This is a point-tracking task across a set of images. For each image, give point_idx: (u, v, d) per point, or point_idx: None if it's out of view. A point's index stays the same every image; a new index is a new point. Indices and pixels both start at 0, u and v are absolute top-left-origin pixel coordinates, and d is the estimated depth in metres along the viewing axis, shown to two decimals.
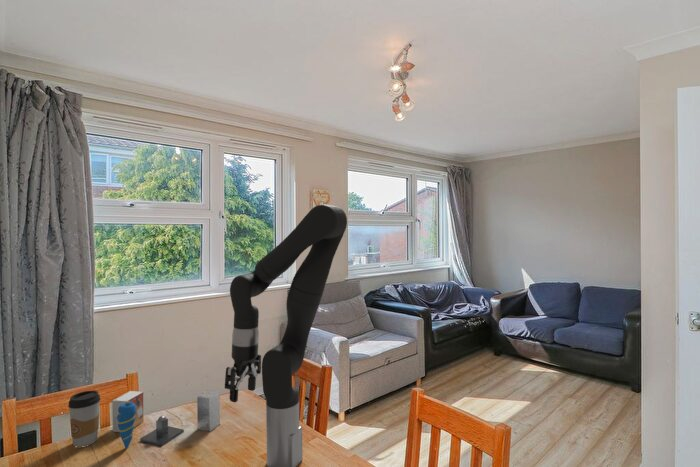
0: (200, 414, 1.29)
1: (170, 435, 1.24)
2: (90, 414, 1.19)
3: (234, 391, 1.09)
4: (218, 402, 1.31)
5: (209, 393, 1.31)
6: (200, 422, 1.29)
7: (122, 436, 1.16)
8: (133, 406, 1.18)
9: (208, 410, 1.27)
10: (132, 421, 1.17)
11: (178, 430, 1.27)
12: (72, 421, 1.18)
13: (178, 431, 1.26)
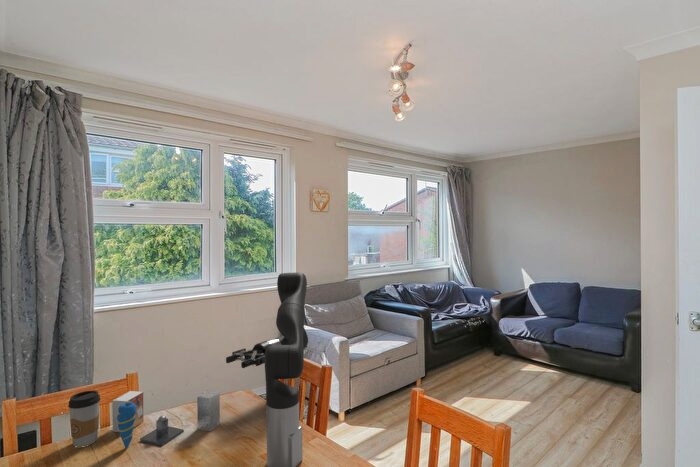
0: (200, 414, 1.29)
1: (170, 435, 1.24)
2: (90, 414, 1.19)
3: None
4: (218, 402, 1.31)
5: (209, 393, 1.31)
6: (200, 422, 1.29)
7: (122, 436, 1.16)
8: (133, 406, 1.18)
9: (208, 410, 1.27)
10: (132, 421, 1.17)
11: (178, 430, 1.27)
12: (72, 421, 1.18)
13: (178, 431, 1.26)
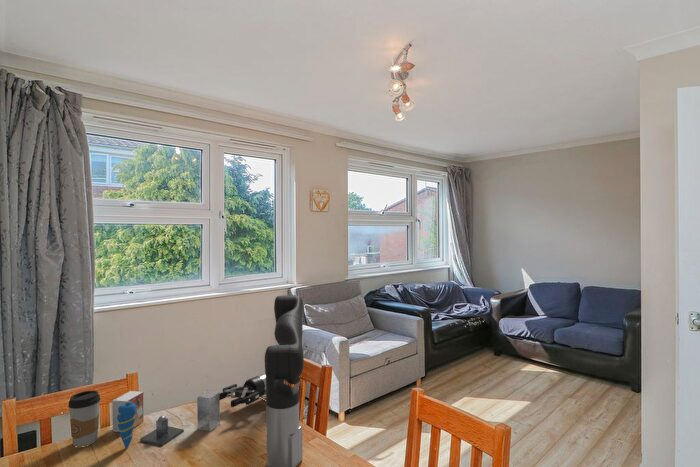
0: (200, 414, 1.29)
1: (170, 434, 1.24)
2: (90, 414, 1.19)
3: None
4: (218, 402, 1.31)
5: (209, 393, 1.31)
6: (200, 422, 1.29)
7: (122, 436, 1.16)
8: (133, 406, 1.18)
9: (208, 410, 1.27)
10: (132, 421, 1.17)
11: (178, 430, 1.27)
12: (72, 421, 1.18)
13: (178, 431, 1.26)
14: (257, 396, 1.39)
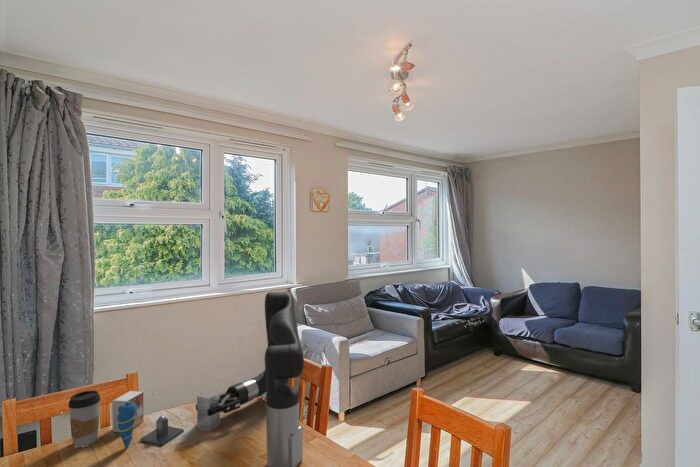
0: (200, 414, 1.29)
1: (170, 434, 1.24)
2: (90, 414, 1.19)
3: None
4: (218, 402, 1.31)
5: (209, 393, 1.31)
6: (200, 422, 1.29)
7: (122, 436, 1.16)
8: (133, 406, 1.18)
9: None
10: (132, 421, 1.17)
11: (178, 430, 1.27)
12: (72, 421, 1.18)
13: (178, 431, 1.26)
14: (237, 405, 1.32)
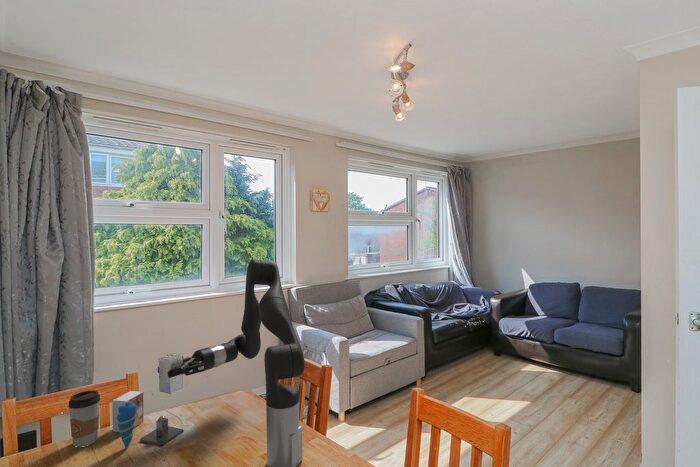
0: (161, 376, 1.24)
1: (170, 434, 1.24)
2: (90, 414, 1.19)
3: None
4: (181, 364, 1.27)
5: (172, 355, 1.27)
6: (161, 384, 1.24)
7: (122, 436, 1.16)
8: (133, 406, 1.18)
9: None
10: (132, 421, 1.17)
11: (178, 430, 1.27)
12: (72, 421, 1.18)
13: (178, 431, 1.26)
14: (200, 368, 1.27)
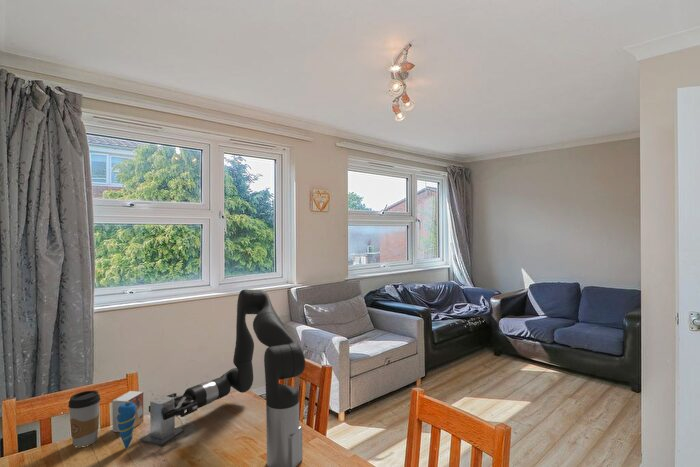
0: (153, 420, 1.23)
1: (170, 435, 1.24)
2: (90, 414, 1.19)
3: None
4: (173, 408, 1.26)
5: (164, 399, 1.25)
6: (153, 429, 1.23)
7: (122, 436, 1.16)
8: (133, 406, 1.18)
9: (160, 417, 1.22)
10: (132, 421, 1.17)
11: (178, 430, 1.27)
12: (72, 421, 1.18)
13: (178, 431, 1.26)
14: (195, 407, 1.27)
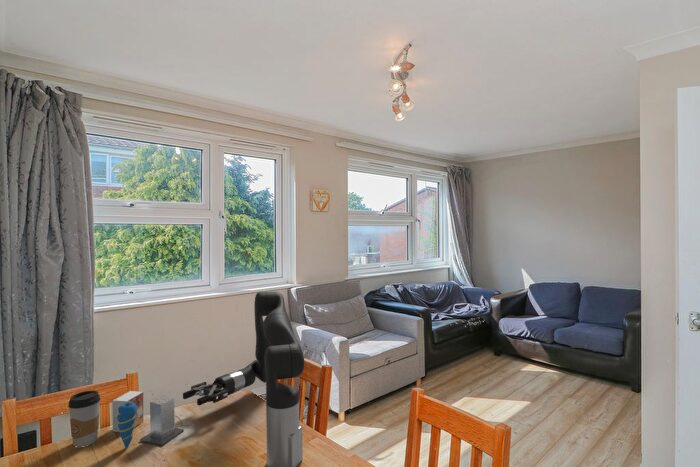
0: (152, 421, 1.23)
1: (170, 435, 1.24)
2: (90, 414, 1.19)
3: None
4: (173, 408, 1.26)
5: (163, 399, 1.25)
6: (153, 429, 1.23)
7: (122, 436, 1.16)
8: (133, 406, 1.18)
9: (160, 417, 1.22)
10: (132, 421, 1.17)
11: (178, 430, 1.27)
12: (72, 421, 1.18)
13: (178, 431, 1.26)
14: (225, 394, 1.36)
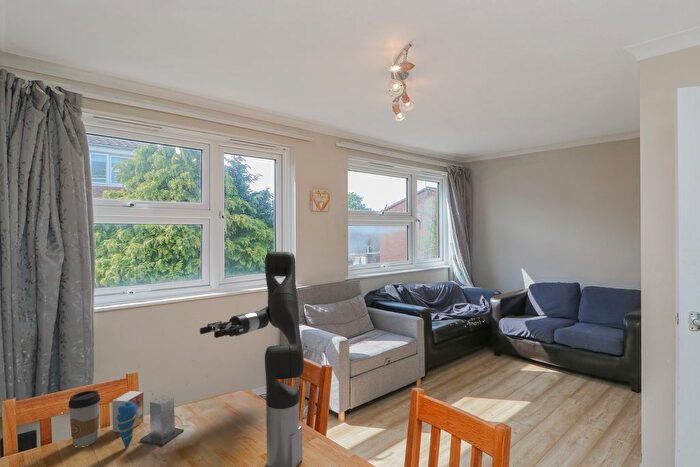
0: (153, 420, 1.23)
1: (170, 435, 1.24)
2: (90, 414, 1.19)
3: (207, 327, 1.42)
4: (173, 408, 1.25)
5: (163, 399, 1.25)
6: (153, 429, 1.23)
7: (122, 436, 1.16)
8: (133, 406, 1.18)
9: (160, 417, 1.22)
10: (132, 421, 1.17)
11: (178, 430, 1.27)
12: (72, 421, 1.18)
13: (178, 431, 1.26)
14: (241, 329, 1.40)
